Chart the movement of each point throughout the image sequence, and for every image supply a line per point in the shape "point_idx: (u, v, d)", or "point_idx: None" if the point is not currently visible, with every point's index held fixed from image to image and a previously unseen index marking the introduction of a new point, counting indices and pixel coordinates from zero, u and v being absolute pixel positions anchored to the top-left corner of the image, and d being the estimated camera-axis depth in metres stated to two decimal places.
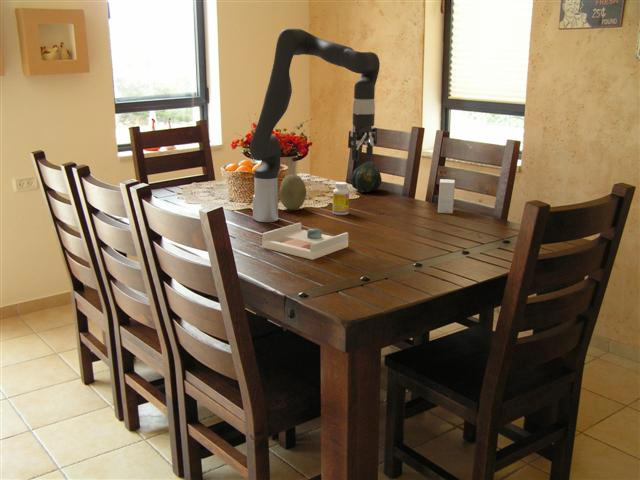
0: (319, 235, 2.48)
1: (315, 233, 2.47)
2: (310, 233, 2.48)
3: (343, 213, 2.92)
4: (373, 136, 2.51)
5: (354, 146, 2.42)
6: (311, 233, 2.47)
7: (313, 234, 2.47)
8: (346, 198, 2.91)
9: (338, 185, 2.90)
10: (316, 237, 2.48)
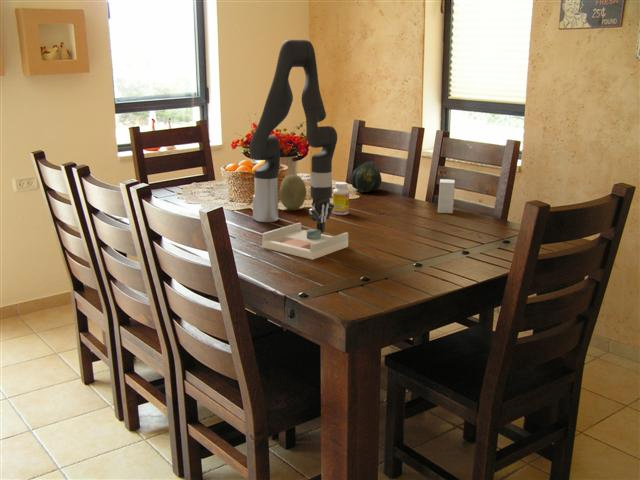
0: (318, 236, 2.47)
1: (314, 234, 2.47)
2: (309, 234, 2.47)
3: (343, 213, 2.92)
4: (328, 210, 2.53)
5: (318, 220, 2.48)
6: (310, 234, 2.47)
7: (312, 235, 2.47)
8: (346, 198, 2.91)
9: (338, 185, 2.90)
10: (315, 238, 2.47)
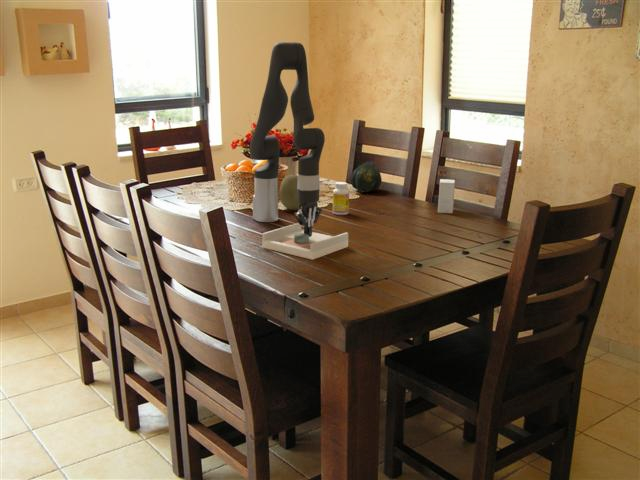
0: (306, 240, 2.42)
1: (302, 238, 2.41)
2: (297, 238, 2.41)
3: (343, 213, 2.92)
4: (315, 214, 2.47)
5: (305, 224, 2.43)
6: (298, 238, 2.41)
7: (300, 239, 2.41)
8: (346, 198, 2.91)
9: (338, 185, 2.90)
10: (303, 242, 2.41)
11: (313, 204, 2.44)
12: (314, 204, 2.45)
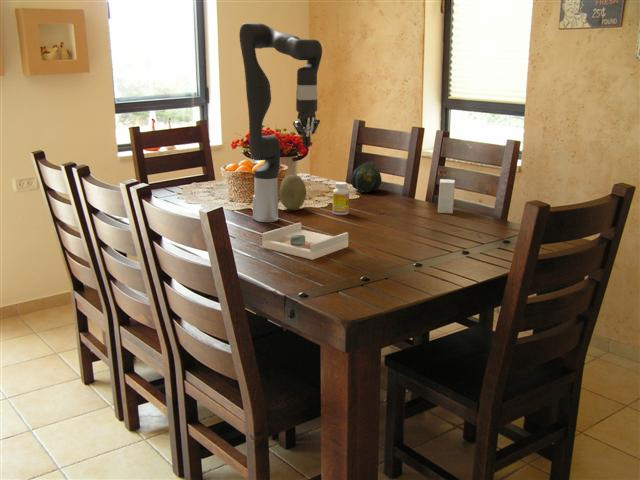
0: (303, 242, 2.40)
1: (298, 240, 2.39)
2: (293, 240, 2.39)
3: (343, 213, 2.92)
4: (314, 125, 2.57)
5: (304, 133, 2.53)
6: (294, 240, 2.39)
7: (296, 241, 2.39)
8: (346, 198, 2.91)
9: (338, 185, 2.90)
10: (299, 244, 2.39)
11: (311, 115, 2.54)
12: (312, 115, 2.55)
